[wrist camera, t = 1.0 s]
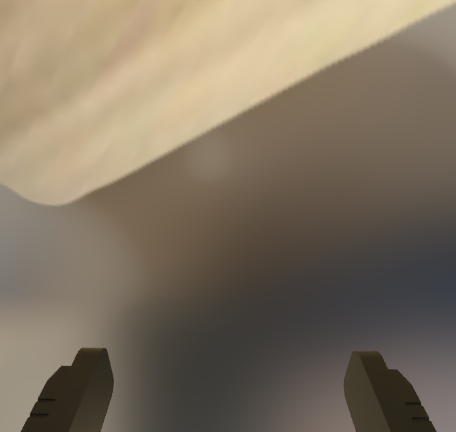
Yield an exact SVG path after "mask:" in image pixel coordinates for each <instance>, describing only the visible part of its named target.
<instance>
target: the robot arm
mask: <svg viewBox="0 0 456 432" xmlns="http://www.w3.org/2000/svg"><path fill="white" fill-rule="evenodd" d="M113 384H114V379H113V373H112V369H111V365H110V360H109V356H108V352H107V349H106V348H81V349H80V350H79V351H78V353H77V355H76V357H75V359H74V361H73V363H72V366H61V367H60V368H59V369H58V370H57V371H56V372H55V373H54V374H53V375H52V376H51V377H50V378H49V380H48V381H47V382H46V384H45V386H44V388H43V390H42V392H41V394H40V396H39V397H38V401H37V402H36V403H35V405H34V407H33V409H32V411H31V413H30V417H29V418H28V419H27V421H26V422H25V424H24V426H23V429H22V430H21V432H101V429H102V425H103V422H104V419H105V416H106V413H107V410H108V406H109V403H110V400H111V397H112V393H113ZM344 393H345V398H346V402H347V405H348V408H349V411H350V414H351V417H352V420H353V423H354V426H355V429H356V432H436V430H435V428H434V426H433V424H432V422H431V421H429V417H428V415H427V413H426V411H425V409H424V407H423V406H422V405H421V402H420V400H419V398H418V396H417V394H416V392H415V390H414V388H413V386H412V385H411V384H410V383H409V382H408V381H407V379H406V378H405V377H404V376H403V375H402V374H401V373H400V372H399V371H398V370H393V369H388V368H387V366H386V364H385V362H384V360H383V358H382V356H381V354H380V353H379V352H377V351H353V352H352V355H351V358H350V362H349V365H348V368H347V372H346V375H345V379H344Z"/></svg>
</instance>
